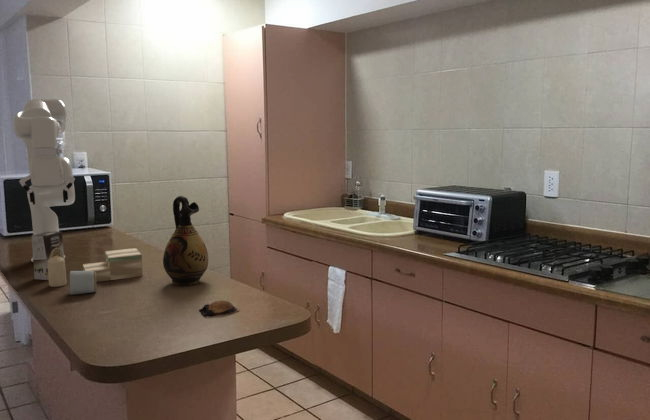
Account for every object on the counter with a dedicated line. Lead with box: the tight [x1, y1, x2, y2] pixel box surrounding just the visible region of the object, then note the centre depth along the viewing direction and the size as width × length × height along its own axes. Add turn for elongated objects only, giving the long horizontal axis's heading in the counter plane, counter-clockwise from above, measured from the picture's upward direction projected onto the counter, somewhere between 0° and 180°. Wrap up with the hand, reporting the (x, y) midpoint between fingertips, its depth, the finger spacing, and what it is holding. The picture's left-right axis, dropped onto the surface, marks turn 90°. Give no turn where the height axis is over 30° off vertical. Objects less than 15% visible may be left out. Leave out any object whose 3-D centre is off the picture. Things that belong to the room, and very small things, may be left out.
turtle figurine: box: [198, 299, 240, 318], centre depth 167 cm, size 11×8×4 cm
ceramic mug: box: [69, 270, 97, 296], centre depth 188 cm, size 11×8×8 cm
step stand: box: [82, 247, 144, 283], centre depth 209 cm, size 13×19×8 cm
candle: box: [47, 256, 67, 288], centre depth 197 cm, size 6×6×10 cm
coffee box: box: [31, 231, 65, 281], centre depth 207 cm, size 9×6×16 cm
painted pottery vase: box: [162, 195, 209, 287], centre depth 197 cm, size 17×15×30 cm
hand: (49, 203), depth 197 cm, fingers open, 9 cm apart
